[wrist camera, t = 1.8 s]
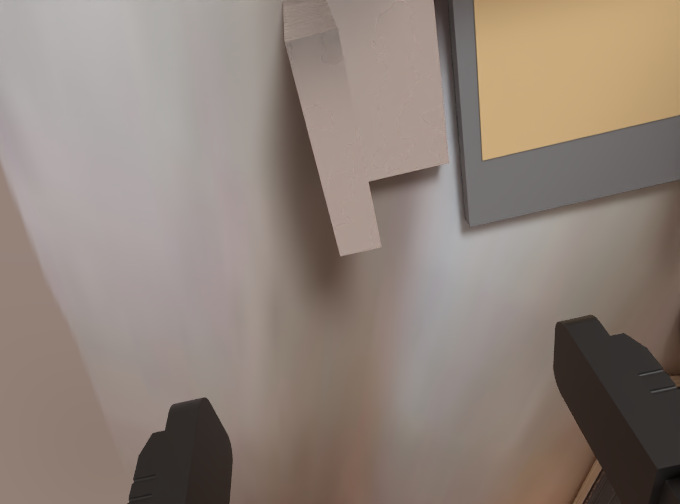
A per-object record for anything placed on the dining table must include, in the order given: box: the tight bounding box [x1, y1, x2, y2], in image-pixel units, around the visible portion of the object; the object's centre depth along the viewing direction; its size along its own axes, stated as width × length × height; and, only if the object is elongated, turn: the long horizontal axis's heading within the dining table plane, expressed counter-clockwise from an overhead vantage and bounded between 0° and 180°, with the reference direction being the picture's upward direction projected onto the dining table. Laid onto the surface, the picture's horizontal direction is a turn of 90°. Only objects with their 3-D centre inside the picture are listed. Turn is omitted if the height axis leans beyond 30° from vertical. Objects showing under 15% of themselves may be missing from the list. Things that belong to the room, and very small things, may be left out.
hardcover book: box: [573, 376, 680, 504], centre depth 52 cm, size 16×23×2 cm
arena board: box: [448, 0, 680, 227], centre depth 28 cm, size 16×20×1 cm
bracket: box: [283, 0, 449, 256], centre depth 25 cm, size 10×7×8 cm
